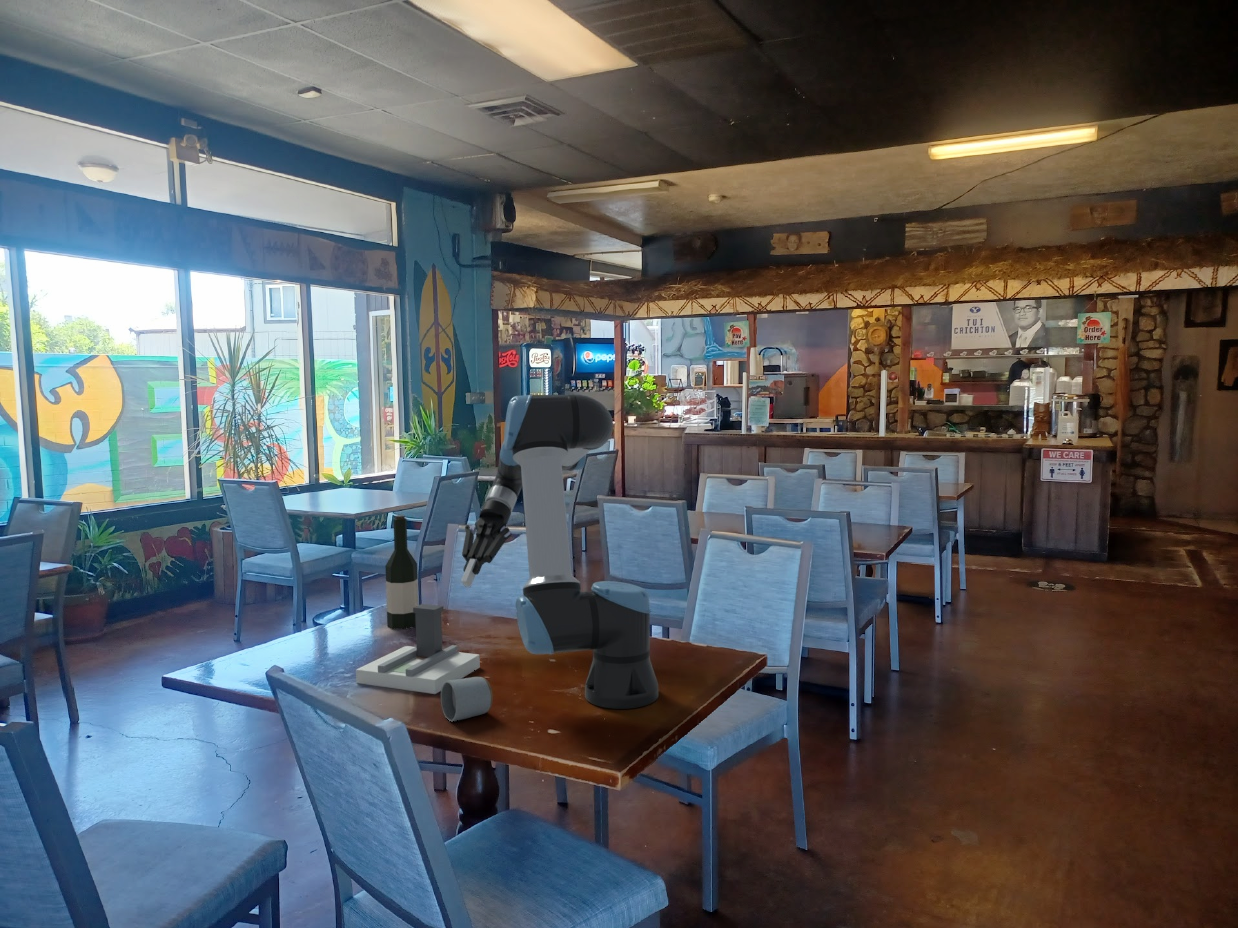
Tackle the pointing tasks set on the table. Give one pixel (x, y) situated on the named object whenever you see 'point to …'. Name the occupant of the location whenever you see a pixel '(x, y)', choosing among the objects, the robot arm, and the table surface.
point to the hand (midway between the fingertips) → (465, 583)
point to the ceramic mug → (466, 698)
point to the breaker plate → (418, 669)
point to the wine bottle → (401, 580)
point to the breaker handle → (428, 629)
